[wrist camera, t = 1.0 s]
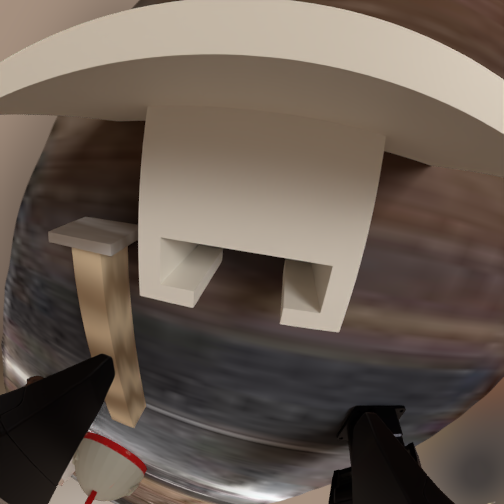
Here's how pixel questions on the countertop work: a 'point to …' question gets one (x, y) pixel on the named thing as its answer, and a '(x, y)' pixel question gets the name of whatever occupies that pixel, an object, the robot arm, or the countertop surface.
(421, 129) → the white angular piece
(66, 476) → the pepper shaker
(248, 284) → the countertop surface
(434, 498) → the robot arm
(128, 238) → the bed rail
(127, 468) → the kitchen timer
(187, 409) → the countertop surface
